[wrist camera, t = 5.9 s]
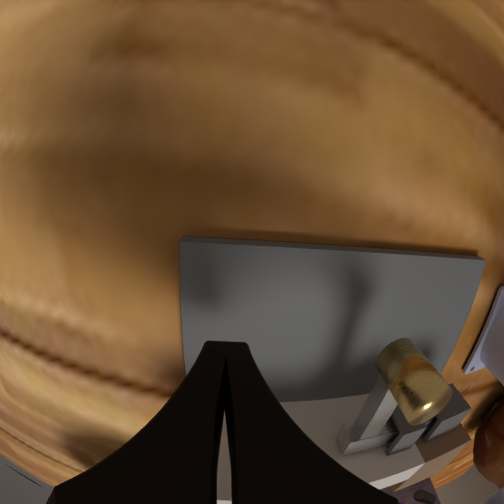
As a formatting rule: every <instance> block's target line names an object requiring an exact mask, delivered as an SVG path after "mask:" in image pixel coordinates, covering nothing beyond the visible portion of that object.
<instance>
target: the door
mask: <svg viewBox="0 0 504 504" xmlns="http://www.w3.org/2000/svg"><path fill="white" fill-rule="evenodd" d="M179 262H180V298H181V319H182V335H183V349H184V361H185V372H186V376H187V374H188V372H189V371H190V369H191V368H192V366H193V364H194V363H195V361H196V359H197V357H198V356H199V354H200V352H201V349H202V347H203V345H204V343H205V342H206V341H207V340H211V341H230V342H246V343H247V344H248V345H249V348H250V351H251V354H252V356H253V358H254V361H255V363H256V365H257V367H258V369H259V371H260V372H261V374H262V376H263V378H264V379H265V381H266V383H267V384H268V386H269V388H270V389H271V391H272V392H273V394H274V395H275V397H276V398H277V400H278V401H279V403H280V404H281V405H282V407H283V408H284V409H285V411H286V412H287V413H288V414H289V416H290V417H291V418H292V419H293V421H294V422H295V423H296V424H297V425H298V426H299V427H300V428H301V430H302V431H303V432H304V433H305V434H306V435H307V436H308V437H309V438H310V439H311V440H312V441H313V442H314V443H315V444H316V445H317V446H318V447H320V448H321V449H322V450H323V451H324V452H326V453H327V454H328V455H329V456H330V457H332V458H333V459H334V460H335V461H337V462H338V463H339V464H340V465H342V466H343V467H344V468H346V469H347V470H348V471H350V472H351V473H353V474H354V475H356V476H357V477H359V478H360V479H362V480H363V481H365V482H367V483H369V484H370V485H372V486H374V487H376V488H377V489H383V488H386V487H389V486H391V489H392V491H393V492H395V491H398V490H400V489H403V488H405V487H408V486H410V485H413V484H415V483H417V482H420V481H422V480H424V479H426V478H429V477H431V476H433V475H435V474H437V473H439V472H440V471H441V470H442V469H443V468H444V467H445V466H446V465H447V464H448V463H449V462H451V461H452V460H453V459H454V458H455V457H456V456H457V455H458V453H459V452H460V451H461V450H462V449H463V448H464V447H465V446H466V445H467V444H468V443H469V442H470V441H471V438H470V437H469V435H468V434H467V432H466V431H465V429H464V428H463V426H462V425H461V421H462V420H463V419H464V417H465V416H466V415H467V413H468V412H469V411H470V409H471V407H470V406H469V404H468V403H467V402H466V400H465V399H464V398H463V396H462V395H461V394H460V393H459V391H458V390H457V389H456V388H455V386H454V385H453V384H449V386H450V387H451V389H452V391H453V393H452V396H451V398H450V400H449V402H448V403H447V404H446V406H445V407H444V408H443V409H442V410H441V411H440V412H439V413H438V414H437V415H435V416H436V418H437V422H436V423H435V424H434V426H433V427H432V428H431V430H429V431H427V432H424V430H425V429H426V428H427V426H426V425H425V423H422V424H419V425H415V426H412V425H410V424H409V423H408V421H407V420H406V418H405V416H404V414H403V413H402V411H401V409H400V407H399V406H398V404H397V406H396V408H395V409H394V411H393V413H392V414H391V417H392V419H393V421H394V423H395V425H396V427H397V429H398V431H399V435H398V436H397V437H396V439H395V440H394V441H393V443H391V444H387V445H384V446H380V447H376V448H373V449H369V450H364V451H360V452H356V453H351V454H346V455H342V452H341V449H340V446H339V443H338V441H337V438H336V437H337V435H338V433H339V432H340V430H341V428H342V426H343V424H348V423H354V422H355V420H356V418H357V417H358V415H359V413H360V411H361V409H362V407H363V405H364V403H365V401H366V399H367V397H368V395H369V393H370V391H371V389H372V387H373V385H374V383H375V380H376V378H377V376H378V374H379V372H378V371H377V369H376V360H377V358H378V356H379V354H380V353H381V351H382V350H383V349H384V348H385V347H386V346H387V345H388V344H390V343H391V342H393V341H395V340H397V339H400V338H409V339H411V340H412V341H413V342H414V344H415V345H416V346H417V347H418V348H419V349H420V351H421V352H422V353H423V354H424V355H425V357H426V358H427V359H428V360H429V361H430V363H431V364H432V365H433V366H434V367H435V369H436V370H437V371H438V372H439V374H441V373H442V371H443V369H444V367H445V365H446V363H447V361H448V359H449V357H450V355H451V353H452V351H453V349H454V347H455V345H456V343H457V340H458V338H459V336H460V334H461V331H462V329H463V327H464V324H465V322H466V319H467V317H468V314H469V312H470V309H471V306H472V304H473V301H474V298H475V295H476V292H477V289H478V286H479V283H480V280H481V277H482V273H483V270H484V266H485V263H486V260H484V259H483V258H481V257H479V256H471V255H459V254H447V253H435V252H422V251H410V250H396V249H383V248H369V247H355V246H340V245H325V244H310V243H294V242H278V241H261V240H243V239H225V238H206V237H186V236H183V237H182V239H181V240H180V241H179ZM423 432H424V433H423ZM217 504H232V498H231V466H230V457H229V448H228V439H227V429H226V419H225V411H224V419H223V427H222V435H221V443H220V451H219V459H218V470H217Z"/></svg>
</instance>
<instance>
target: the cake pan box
mask: <svg viewBox="0 0 504 504" xmlns="http://www.w3.org/2000/svg"><path fill="white" fill-rule="evenodd" d="M379 490H381V491H383V492H385V493H387V494H389V495H391V496H393V497H395V498H397V500H398V501H399V503H400V504H440V501H439V499H438V496H437V494H436V491H435V489H434V486H433V484H432V481H431V479H430V477H429V478H426V479H424V480H422V481H420V482H417V483H415V484H413V485H410V486H408V487H405V488H403V489H400V490H398V491H395V492H393V491H392V489H391V486H389V487H386V488H383V489H379Z"/></svg>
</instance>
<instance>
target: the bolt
mask: <svg viewBox="0 0 504 504" xmlns="http://www.w3.org/2000/svg"><path fill="white" fill-rule="evenodd" d="M376 369H377V371H378V372H379V374H378V376H377V378H376V380H375V383H374V385H373V387H372V389H371V391H370V393H369V395H368V397H367V399H366V401H365V403H364V405H363V407H362V409H361V411H360V413H359V415H358V417H357V418H356V420H355V422H354V423H348V424H343V426H342V428H341V430H340V432H339V433H338V435H337V437H336V438H337V441H338V443H339V446H340V449H341V452H342V455H346V454H351V453H356V452H360V451H364V450H369V449H373V448H376V447H380V446H384V445H387V444H391V443H393V441H394V440H395V439H396V437H397V436H398V435H399V431H398V429H397V427H396V425H395V423H394V421H393V419H392V417H391V414H392V413H393V411H394V409H395V408H396V406H397V404H398V406H399V407H400V409H401V411H402V413H403V414H404V416H405V418H406V420H407V421H408V423H409V424H410V425H412V426H415V425H419V424H422V423H425V425H426V426H427V428H426V429H425V430H424V432H427V431H429V430H431V428H432V427H433V426H434V424H435V423H436V422H437V418H436V416H435V415H437V414H438V413H439V412H440V411H441V410H442V409H443V408H444V407H445V406H446V404H447V403H448V402H449V400H450V398H451V396H452V393H453V391H452V389H451V387H450V386H449V385H448V384H447V382H446V381H445V380H444V379H443V377H442V376H441V375H440V374H439V372H438V371H437V370H436V369H435V367H434V366H433V365H432V364H431V363H430V361H429V360H428V359H427V358H426V357H425V355H424V354H423V353H422V352H421V351H420V349H419V348H418V347H417V346H416V345H415V344H414V342H413V341H412V340H411V339H409V338H400V339H397V340H395V341H393V342H391V343H390V344H388V345H387V346H386V347H385V348H384V349H383V350H382V351H381V353H380V354H379V356H378V358H377V360H376ZM424 432H423V433H424Z"/></svg>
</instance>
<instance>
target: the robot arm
mask: <svg viewBox="0 0 504 504" xmlns="http://www.w3.org/2000/svg"><path fill="white" fill-rule="evenodd" d="M484 367H487V368H488V369H489V370H490V372H491V373H492V374H493V375H494V376H495V377H496V378H497V379H498V380H499V381H500V382H501V383H502V385H503V386H504V286H501V287H500V288H499V290H498V292H497V295H496V298H495V301H494V303H493V306H492V309H491V311H490V314H489V316H488V319H487V321H486V324H485V326H484V328H483V331H482V333H481V335H480V337H479V339H478V342H477V344H476V346H475V348H474V350H473V352H472V354H471V356H470V358H469V360H468V362H467V363H466V365H465V367H464V369H463V372H464V373H465V374H469V373H471V372H474V371H477V370H479V369H482V368H484ZM224 411H225V419H226V429H227V439H228V448H229V457H230V466H231V498H232V504H400V503H399V501H398V500H397V498H395V497H393V496H391V495H389V494H387V493H385V492H383V491H381V490H379V489H377V488H376V487H374V486H372V485H370V484H369V483H367V482H365V481H363V480H362V479H360V478H359V477H357V476H356V475H354V474H353V473H351V472H350V471H348V470H347V469H346V468H344V467H343V466H342V465H340V464H339V463H338V462H337V461H335V460H334V459H333V458H332V457H330V456H329V455H328V454H327V453H326V452H324V451H323V450H322V449H321V448H320V447H318V446H317V445H316V444H315V443H314V442H313V441H312V440H311V439H310V438H309V437H308V436H307V435H306V434H305V433H304V432H303V431H302V430H301V428H300V427H299V426H298V425H297V424H296V423H295V422H294V421H293V419H292V418H291V417H290V416H289V414H288V413H287V412H286V411H285V409H284V408H283V407H282V405H281V404H280V403H279V401H278V400H277V398H276V397H275V395H274V394H273V392H272V391H271V389H270V388H269V386H268V384H267V383H266V381H265V379H264V378H263V376H262V374H261V372H260V371H259V369H258V367H257V365H256V363H255V361H254V358H253V356H252V354H251V351H250V348H249V345H248V344H247V343H246V342H230V341H211V340H207V341H206V342H205V343H204V345H203V347H202V349H201V352H200V354H199V356H198V357H197V359H196V361H195V363H194V364H193V366H192V368H191V369H190V371H189V372H188V374H187V376H186V377H185V379H184V380H183V382H182V383H181V384H180V386H179V387H178V388H177V390H176V391H175V392H174V394H173V395H172V396H171V398H170V399H169V400H168V401H167V403H166V404H165V405H164V406H163V407H162V409H161V410H160V411H159V412H158V413H157V414H156V415H155V416H154V417H153V418H152V419H151V420H150V421H149V422H148V424H147V425H145V426H144V427H143V428H142V429H141V430H140V431H139V432H138V433H137V434H136V435H135V436H134V437H132V438H131V439H130V440H129V441H128V442H127V443H125V444H124V445H123V446H122V447H120V448H119V449H118V450H116V451H115V452H114V453H112V454H111V455H109V456H108V457H106V458H105V459H104V460H102V461H101V462H99V463H98V464H96V465H95V466H93V467H91V468H90V469H88V470H86V471H85V472H83V473H81V474H79V475H77V476H75V477H73V478H71V479H69V480H67V481H65V482H63V483H61V484H59V485H57V486H55V487H54V489H53V491H52V493H51V495H50V497H49V498H48V501H47V503H46V504H217V470H218V459H219V451H220V443H221V435H222V427H223V419H224ZM481 504H504V486H503V487H502V488H501V489H500V490H498V491H497V492H496V493H495V494H493V495H491V496H490V497H489V498H488V499H486V500H485V501H483V502H482V503H481Z"/></svg>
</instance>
